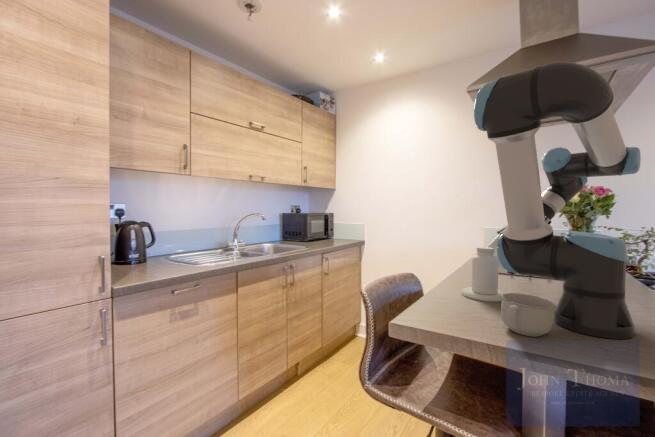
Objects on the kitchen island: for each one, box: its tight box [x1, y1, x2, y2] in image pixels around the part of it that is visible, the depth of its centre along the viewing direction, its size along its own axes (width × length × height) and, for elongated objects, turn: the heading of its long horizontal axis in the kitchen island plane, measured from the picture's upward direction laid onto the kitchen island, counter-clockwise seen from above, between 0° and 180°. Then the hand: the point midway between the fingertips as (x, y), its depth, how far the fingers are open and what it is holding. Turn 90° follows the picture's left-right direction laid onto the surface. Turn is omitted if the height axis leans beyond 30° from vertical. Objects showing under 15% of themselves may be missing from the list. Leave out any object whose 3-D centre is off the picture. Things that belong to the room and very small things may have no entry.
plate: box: [461, 286, 507, 303], centre depth 104 cm, size 14×14×1 cm
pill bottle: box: [471, 246, 500, 295], centre depth 103 cm, size 8×8×15 cm
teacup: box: [500, 292, 557, 338], centre depth 73 cm, size 14×11×8 cm
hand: (500, 252), depth 104 cm, fingers open, 13 cm apart
